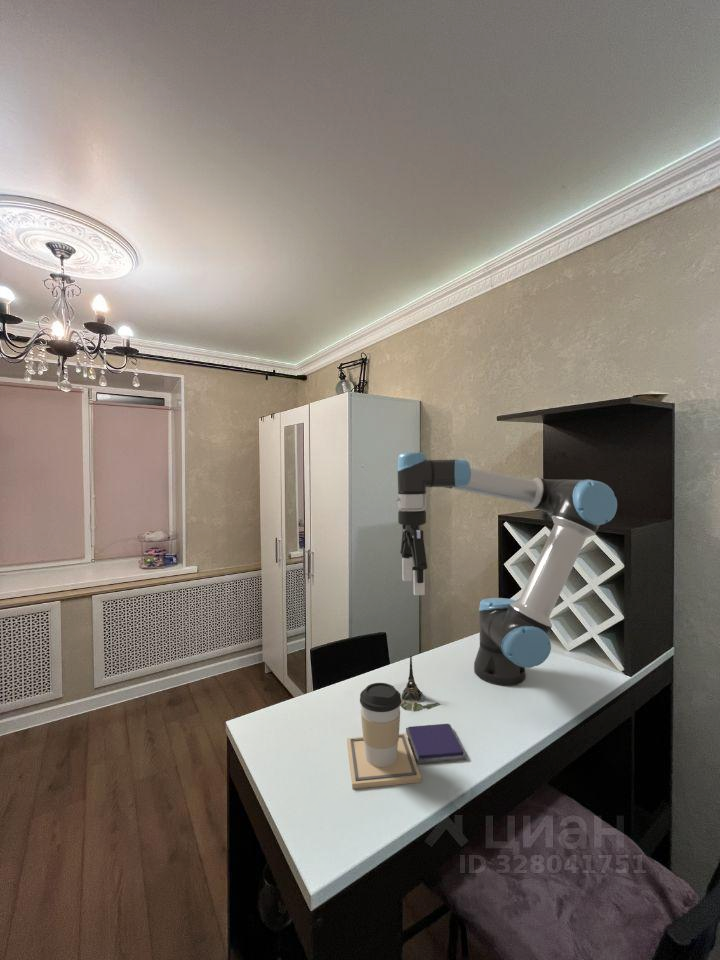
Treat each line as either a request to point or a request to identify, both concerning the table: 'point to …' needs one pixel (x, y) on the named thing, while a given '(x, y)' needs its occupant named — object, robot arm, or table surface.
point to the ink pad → (435, 744)
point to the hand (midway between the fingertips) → (412, 587)
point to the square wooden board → (382, 776)
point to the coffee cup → (380, 723)
